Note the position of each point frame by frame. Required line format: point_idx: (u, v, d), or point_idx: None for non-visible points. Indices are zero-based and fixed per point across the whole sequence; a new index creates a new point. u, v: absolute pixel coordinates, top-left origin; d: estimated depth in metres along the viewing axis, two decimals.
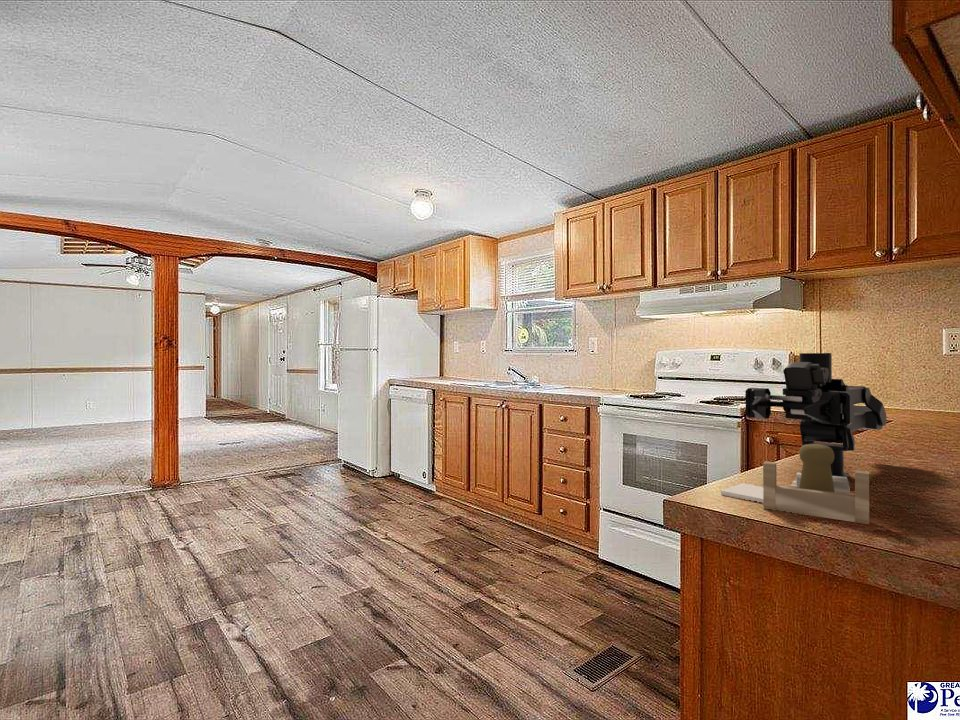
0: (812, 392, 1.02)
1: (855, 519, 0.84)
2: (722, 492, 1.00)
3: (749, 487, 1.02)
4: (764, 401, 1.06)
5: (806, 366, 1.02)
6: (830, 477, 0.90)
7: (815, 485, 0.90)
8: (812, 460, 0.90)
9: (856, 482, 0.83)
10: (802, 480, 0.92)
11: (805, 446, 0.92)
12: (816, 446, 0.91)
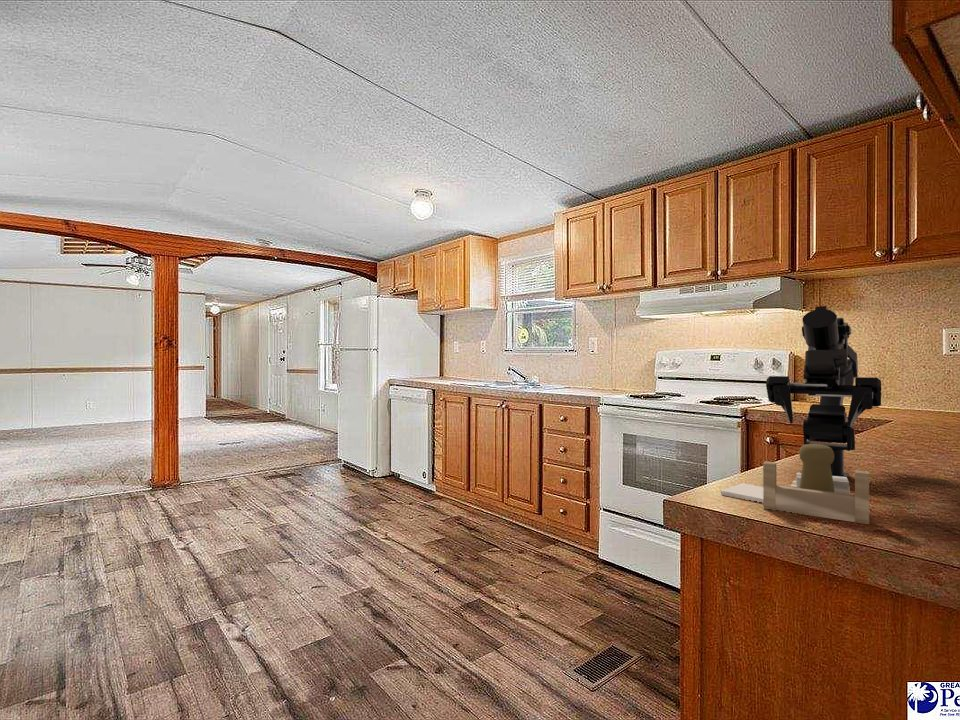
0: (836, 377, 1.01)
1: (855, 519, 0.84)
2: (722, 492, 1.00)
3: (749, 487, 1.02)
4: (790, 395, 1.05)
5: (829, 360, 0.98)
6: (830, 477, 0.90)
7: (815, 485, 0.90)
8: (812, 460, 0.90)
9: (856, 482, 0.83)
10: (802, 480, 0.92)
11: (805, 446, 0.92)
12: (816, 446, 0.91)
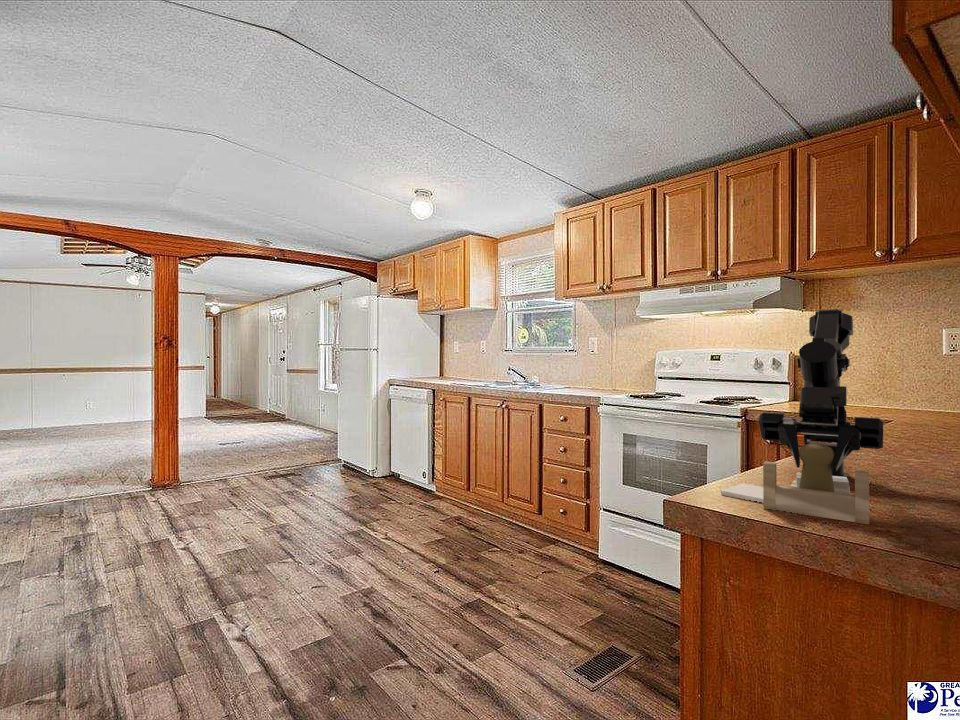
0: (834, 416, 0.93)
1: (855, 519, 0.84)
2: (722, 492, 1.00)
3: (749, 487, 1.02)
4: None
5: (827, 399, 0.90)
6: (830, 477, 0.90)
7: (815, 485, 0.90)
8: (812, 459, 0.90)
9: (856, 482, 0.83)
10: (802, 480, 0.92)
11: (805, 446, 0.92)
12: (816, 446, 0.91)
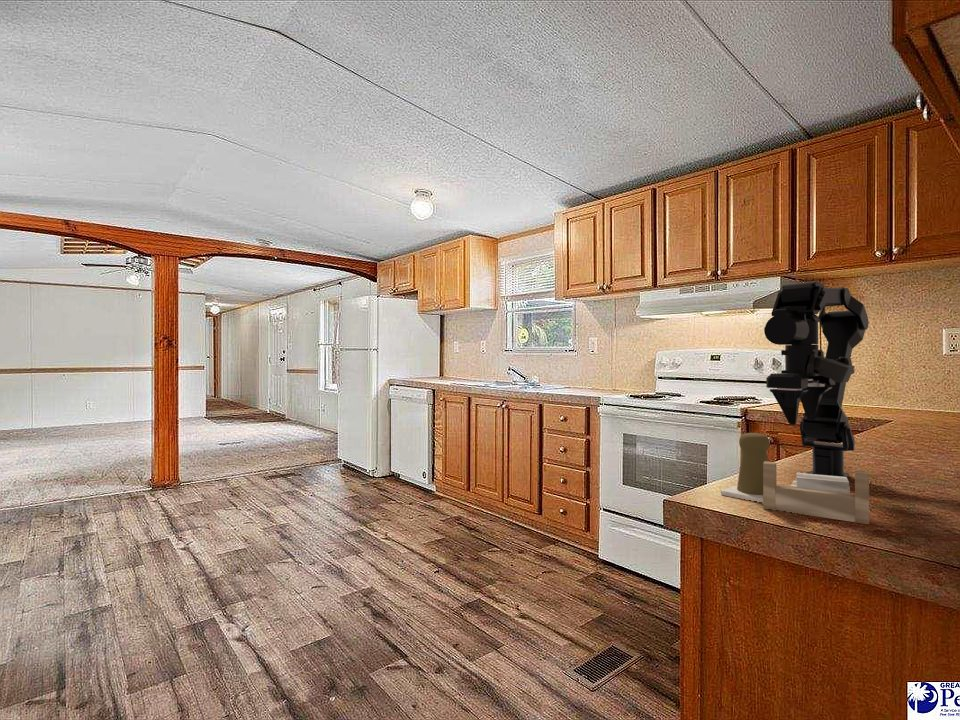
0: None
1: (855, 519, 0.84)
2: (722, 492, 1.00)
3: None
4: None
5: (849, 378, 1.00)
6: (762, 463, 0.98)
7: (746, 469, 0.99)
8: (744, 446, 0.99)
9: (856, 482, 0.83)
10: (740, 465, 1.01)
11: (743, 434, 1.01)
12: (750, 434, 0.99)
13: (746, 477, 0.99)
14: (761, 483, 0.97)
